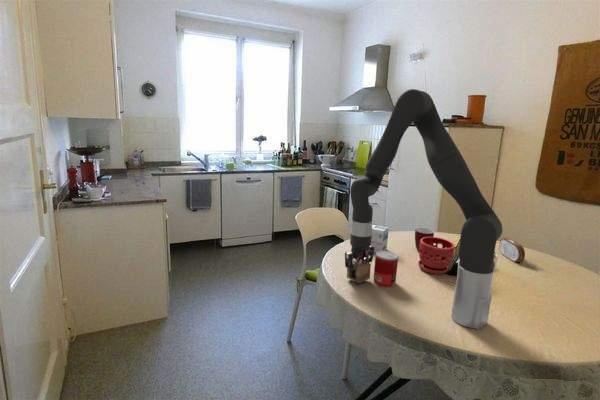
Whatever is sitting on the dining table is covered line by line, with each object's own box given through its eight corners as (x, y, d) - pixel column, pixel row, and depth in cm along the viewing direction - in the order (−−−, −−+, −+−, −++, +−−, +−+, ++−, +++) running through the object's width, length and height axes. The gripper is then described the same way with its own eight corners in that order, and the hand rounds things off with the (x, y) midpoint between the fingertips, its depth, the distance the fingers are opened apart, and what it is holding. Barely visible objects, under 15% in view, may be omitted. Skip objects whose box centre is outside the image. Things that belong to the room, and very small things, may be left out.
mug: (407, 246, 170) (410, 226, 167) (423, 246, 171) (426, 226, 168) (417, 254, 159) (420, 233, 157) (434, 254, 160) (437, 233, 158)
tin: (523, 265, 152) (527, 246, 150) (516, 265, 152) (520, 246, 150) (503, 252, 167) (506, 235, 165) (496, 252, 167) (499, 234, 165)
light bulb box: (387, 249, 165) (389, 227, 162) (382, 254, 159) (384, 231, 156) (365, 244, 170) (367, 223, 168) (359, 248, 164) (361, 226, 162)
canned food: (395, 288, 127) (399, 259, 125) (373, 285, 129) (375, 257, 126) (394, 279, 134) (397, 251, 132) (373, 276, 136) (375, 249, 133)
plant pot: (418, 274, 140) (421, 245, 137) (415, 261, 152) (418, 234, 149) (453, 278, 137) (457, 249, 134) (448, 265, 149) (452, 238, 146)
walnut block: (369, 278, 132) (370, 263, 130) (359, 283, 128) (360, 267, 126) (357, 273, 136) (358, 258, 135) (346, 277, 132) (347, 262, 131)
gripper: (355, 239, 121) (352, 285, 124) (382, 231, 130) (378, 274, 133) (339, 233, 126) (337, 277, 130) (366, 226, 135) (363, 267, 139)
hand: (358, 275), depth 132 cm, fingers closed on walnut block, 6 cm apart
